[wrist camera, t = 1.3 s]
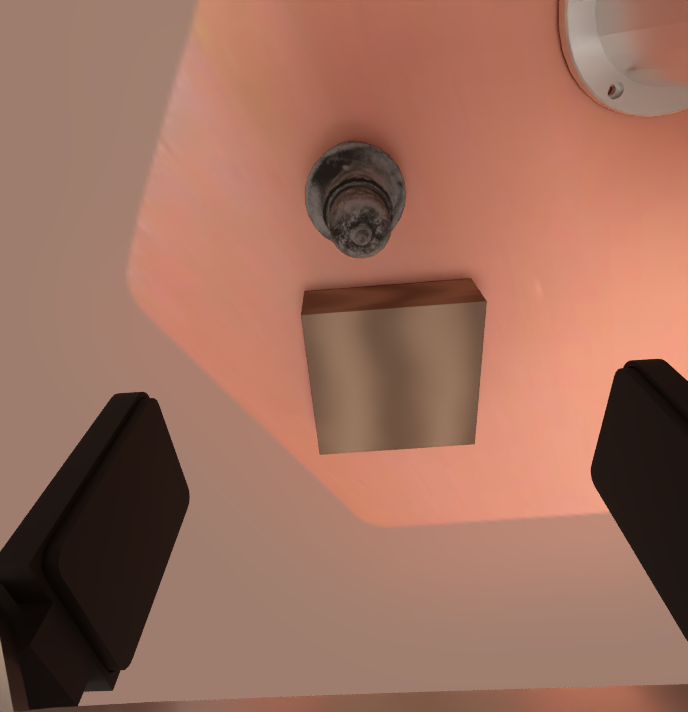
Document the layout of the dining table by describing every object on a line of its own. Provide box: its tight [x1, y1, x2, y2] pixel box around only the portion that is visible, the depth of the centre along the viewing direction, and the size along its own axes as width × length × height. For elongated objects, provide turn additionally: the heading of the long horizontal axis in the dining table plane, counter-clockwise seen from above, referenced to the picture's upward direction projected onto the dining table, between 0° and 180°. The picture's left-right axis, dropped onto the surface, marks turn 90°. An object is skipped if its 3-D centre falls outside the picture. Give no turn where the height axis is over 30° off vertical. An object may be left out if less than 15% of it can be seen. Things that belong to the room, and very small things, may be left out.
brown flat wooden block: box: [301, 279, 487, 455], centre depth 35 cm, size 12×12×4 cm
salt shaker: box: [305, 141, 406, 258], centre depth 25 cm, size 6×6×12 cm
